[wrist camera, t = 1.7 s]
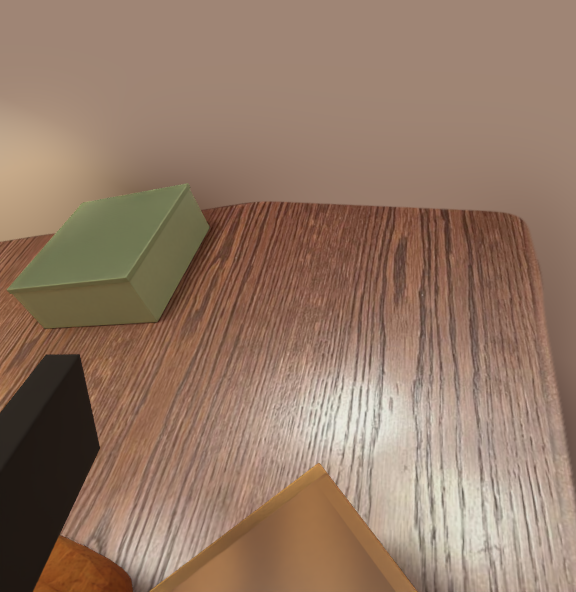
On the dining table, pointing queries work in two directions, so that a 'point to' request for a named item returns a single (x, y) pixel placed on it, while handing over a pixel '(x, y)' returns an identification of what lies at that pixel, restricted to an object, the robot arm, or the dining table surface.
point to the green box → (114, 260)
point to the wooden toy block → (295, 548)
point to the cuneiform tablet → (81, 571)
